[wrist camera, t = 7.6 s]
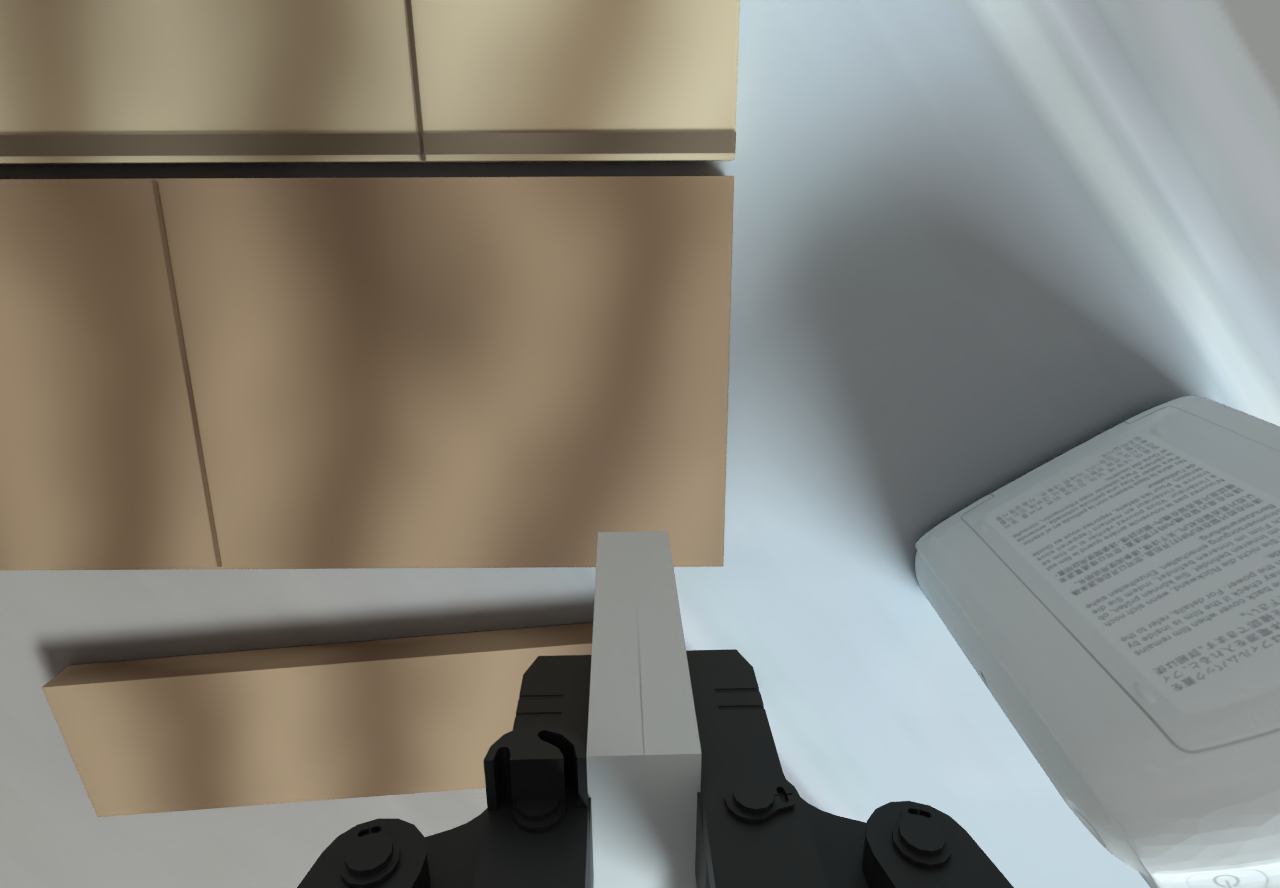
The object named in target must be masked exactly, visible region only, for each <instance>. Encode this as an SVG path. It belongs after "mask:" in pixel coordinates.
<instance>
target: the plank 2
mask: <svg viewBox="0 0 1280 888" xmlns="http://www.w3.org/2000/svg"><path fill="white" fill-rule="evenodd" d="M592 638H593V623H582V624H570V625H557V626H545V627H533V628H520V629H508V630H496V631H484V632H471V633H459V634H447V635H434V636H422V637H410V638H398V639H385V640H373V641H361V642H348V643H336V644H324V645H312V646H299V647H287V648H275V649H262V650H250V651H238V652H226V653H213V654H201V655H189V656H176V657H164V658H152V659H140V660H127V661H115V662H103V663H90V664H78V665H68V666H67V667H66V668H65V669H64V670H62V671H61V672H60V673H59V674H58V675H56V676H55V677H54V678H53V679H52V680H50V681H49V682H48V683H47V684H46V685H44V686H43V687H42V689H43V691H44V694H45V696H46V698H47V701H48V703H49V705H50V708H51V710H52V712H53V715H54V717H55V719H56V722H57V724H58V726H59V729H60V731H61V733H62V736H63V738H64V740H65V743H66V745H67V747H68V750H69V752H70V754H71V757H72V759H73V761H74V764H75V766H76V768H77V771H78V773H79V775H80V778H81V780H82V782H83V785H84V787H85V789H86V792H87V794H88V796H89V799H90V801H91V803H92V806H93V808H94V810H95V812H96V815H97V817H105V816H118V815H131V814H144V813H158V812H171V811H184V810H197V809H211V808H224V807H237V806H250V805H264V804H277V803H290V802H303V801H317V800H330V799H343V798H356V797H369V796H383V795H396V794H409V793H422V792H436V791H449V790H462V789H475V788H486V784H485V773H484V762H483V760H484V758H485V756H486V754H487V752H488V750H489V748H490V746H491V745H492V744H494V743H495V742H496V741H497V740H498V739H499V738H500V737H501V736H503V735H504V734H506V733H508V732H510V731H513V726H514V720H515V717H516V710H517V705H518V700H519V694H520V689H521V684H522V678H523V674H524V673H525V672H526V670H527V669H528V668H529V667H530V666H531V664H532V663H533V662H534V661H535V660H536V658H537V657H538V656H559V655H592Z"/></svg>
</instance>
